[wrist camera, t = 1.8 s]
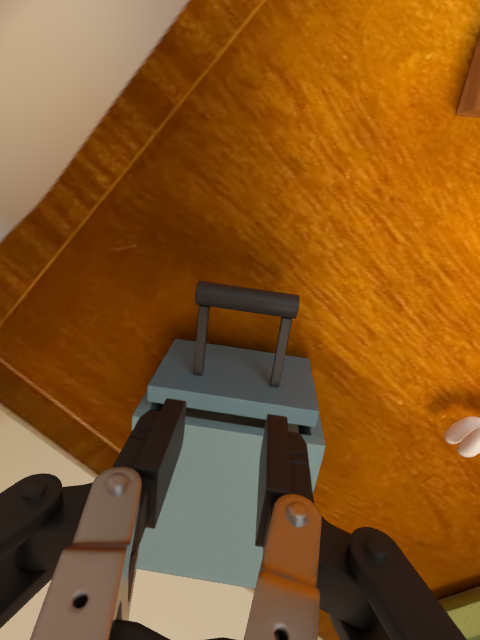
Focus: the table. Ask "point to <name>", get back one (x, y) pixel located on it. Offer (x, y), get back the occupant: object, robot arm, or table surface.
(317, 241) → the table surface
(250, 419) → the drawer
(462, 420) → the figurine
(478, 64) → the block
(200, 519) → the cabinet
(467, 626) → the olive green shallow tray
